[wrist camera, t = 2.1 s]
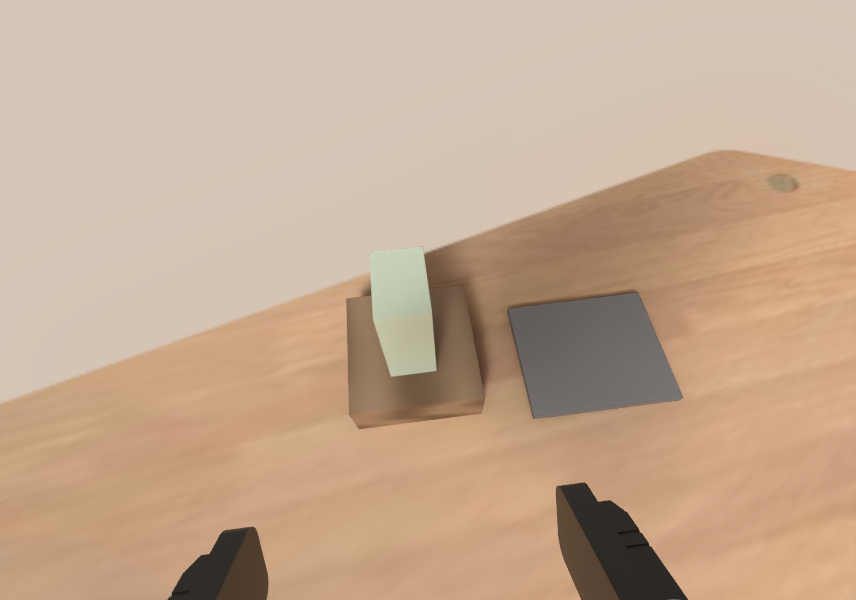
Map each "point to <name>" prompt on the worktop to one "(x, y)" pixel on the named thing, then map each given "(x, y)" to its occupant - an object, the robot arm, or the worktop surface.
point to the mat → (590, 356)
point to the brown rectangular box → (423, 392)
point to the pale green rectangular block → (403, 310)
